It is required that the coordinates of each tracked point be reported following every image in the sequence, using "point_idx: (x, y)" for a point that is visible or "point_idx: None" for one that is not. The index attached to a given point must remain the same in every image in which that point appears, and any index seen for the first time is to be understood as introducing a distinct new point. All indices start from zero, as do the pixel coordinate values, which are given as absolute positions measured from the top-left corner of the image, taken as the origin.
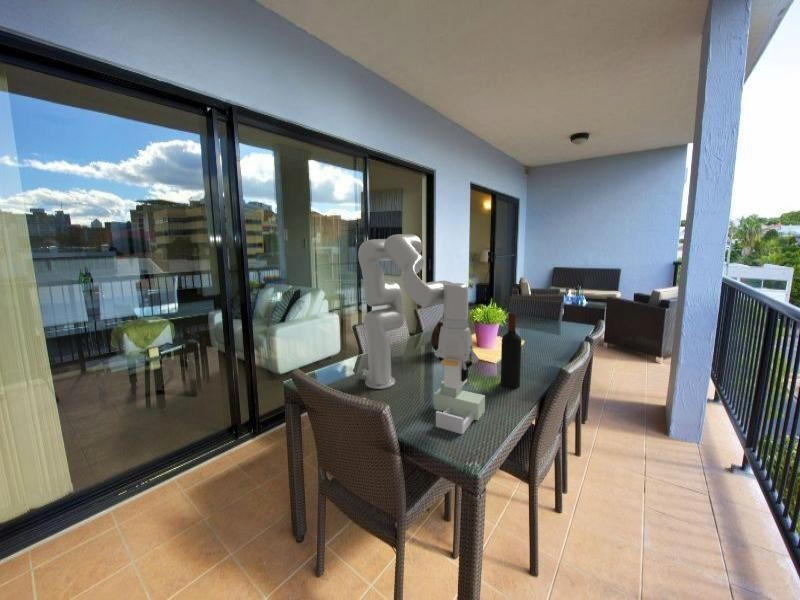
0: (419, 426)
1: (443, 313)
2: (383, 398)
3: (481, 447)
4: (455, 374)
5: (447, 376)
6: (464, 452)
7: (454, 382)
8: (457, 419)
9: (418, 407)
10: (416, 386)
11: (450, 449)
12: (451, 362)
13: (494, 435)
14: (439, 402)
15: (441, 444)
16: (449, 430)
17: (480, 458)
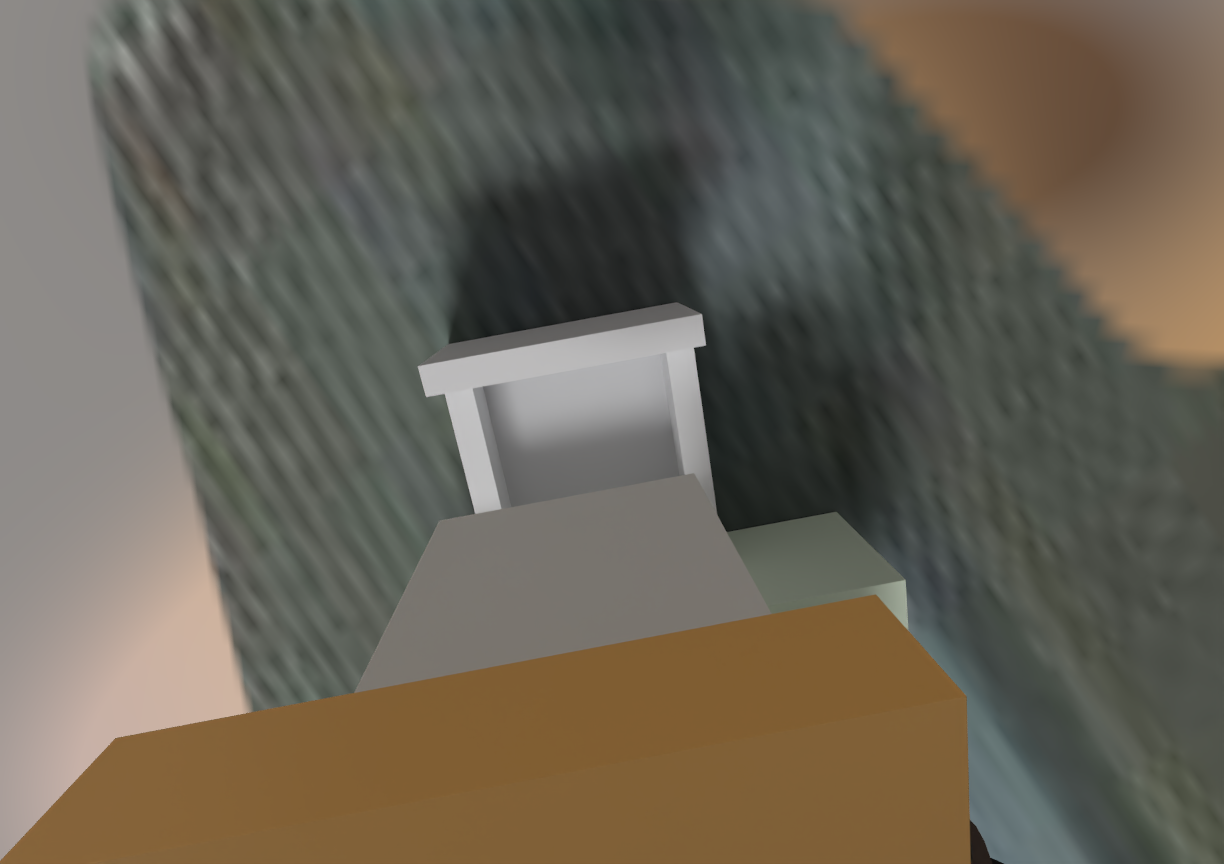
0: (789, 216)
1: None
2: None
3: (232, 284)
4: (452, 654)
5: (654, 568)
6: (283, 135)
7: (505, 553)
8: (471, 355)
9: (962, 457)
10: (1155, 713)
11: (389, 95)
12: (322, 856)
13: (262, 486)
14: (815, 552)
15: (487, 108)
16: (556, 324)
17: (145, 147)
